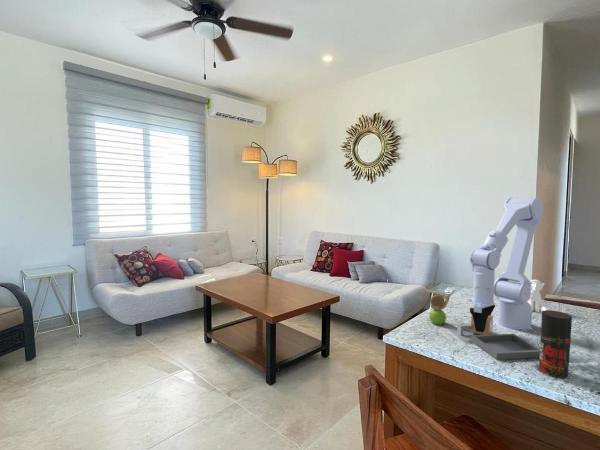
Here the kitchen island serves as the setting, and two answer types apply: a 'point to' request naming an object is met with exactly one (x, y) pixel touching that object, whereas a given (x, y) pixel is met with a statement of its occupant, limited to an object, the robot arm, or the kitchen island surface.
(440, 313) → the green base glass goblet
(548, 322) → the deodorant
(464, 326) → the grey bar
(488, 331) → the orange hollow square box
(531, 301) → the white creature statuette
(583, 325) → the kitchen island surface
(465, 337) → the slate board
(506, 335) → the tray
